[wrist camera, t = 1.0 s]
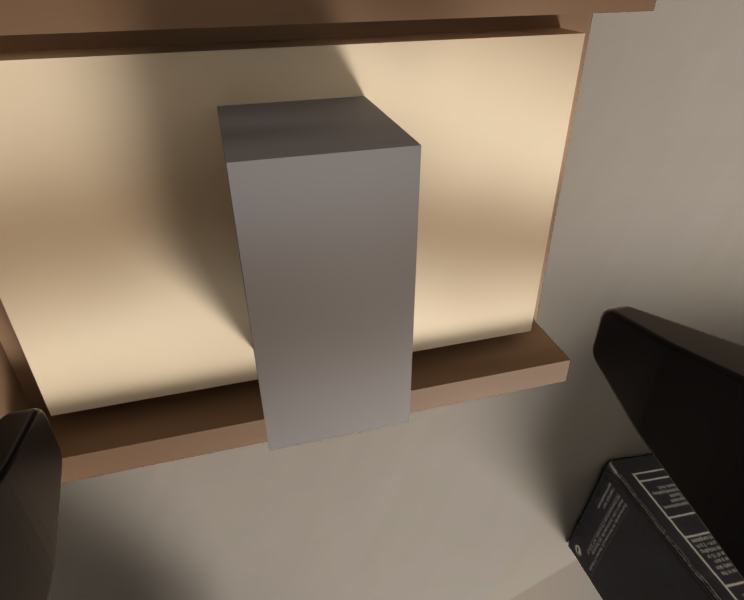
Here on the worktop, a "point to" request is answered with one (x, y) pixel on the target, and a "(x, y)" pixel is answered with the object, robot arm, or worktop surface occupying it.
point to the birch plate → (166, 219)
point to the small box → (649, 540)
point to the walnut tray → (243, 400)
